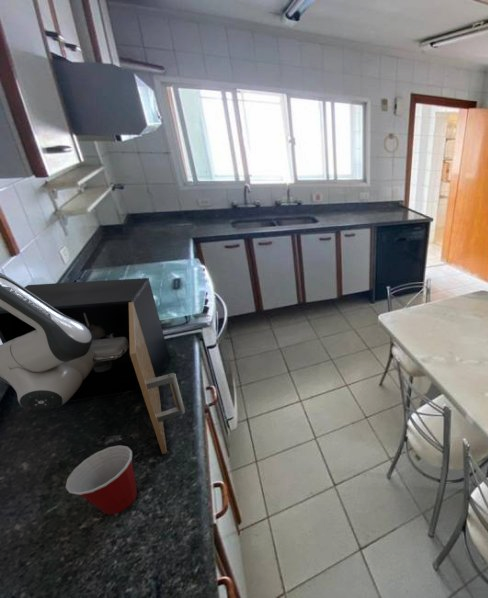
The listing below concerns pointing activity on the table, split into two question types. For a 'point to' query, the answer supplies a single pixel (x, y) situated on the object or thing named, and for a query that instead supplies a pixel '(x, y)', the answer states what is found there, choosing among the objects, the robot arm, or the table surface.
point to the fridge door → (151, 380)
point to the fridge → (111, 316)
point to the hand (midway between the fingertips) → (93, 337)
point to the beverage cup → (97, 333)
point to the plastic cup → (106, 479)
